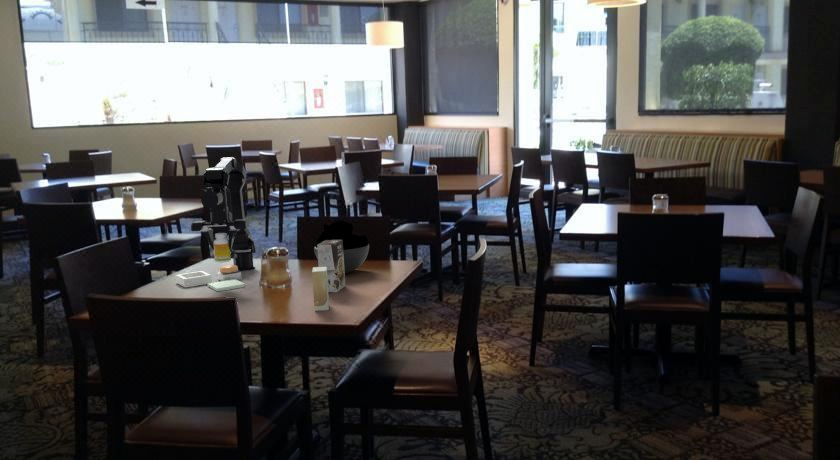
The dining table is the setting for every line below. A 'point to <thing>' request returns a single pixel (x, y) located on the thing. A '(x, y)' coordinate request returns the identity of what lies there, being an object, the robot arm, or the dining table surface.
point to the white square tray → (193, 279)
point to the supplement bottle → (221, 248)
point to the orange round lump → (228, 269)
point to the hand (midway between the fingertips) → (222, 249)
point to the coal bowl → (346, 244)
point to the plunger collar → (229, 276)
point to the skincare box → (320, 288)
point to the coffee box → (332, 263)
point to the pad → (226, 285)
